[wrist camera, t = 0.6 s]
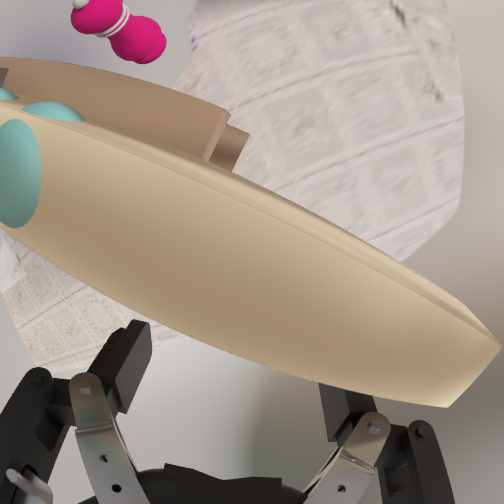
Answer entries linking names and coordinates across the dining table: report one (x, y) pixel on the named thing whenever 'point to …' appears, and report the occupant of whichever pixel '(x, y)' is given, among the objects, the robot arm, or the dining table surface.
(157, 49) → the pepper mill
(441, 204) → the dining table surface
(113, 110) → the tall stand
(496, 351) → the teal-dotted wooden beam
